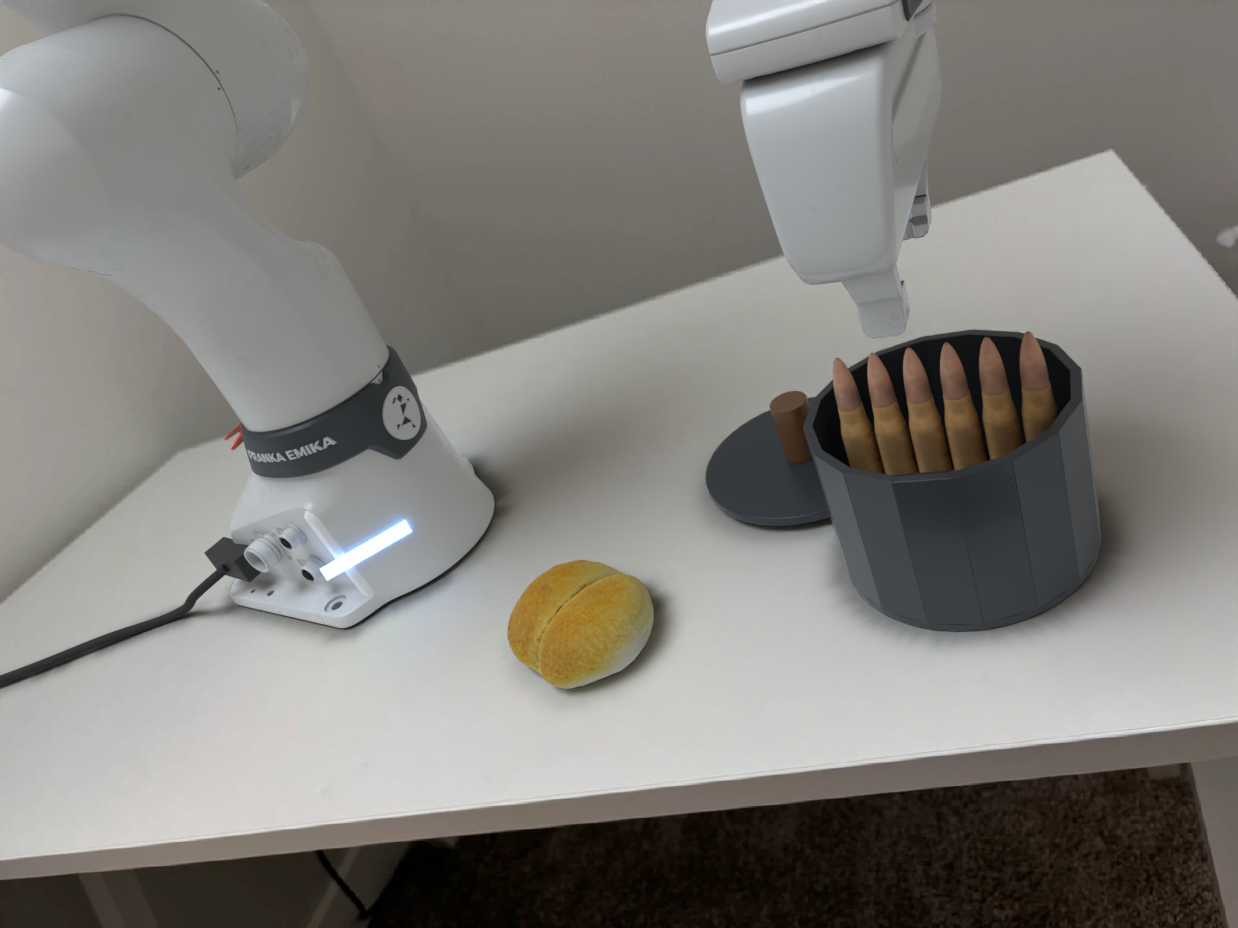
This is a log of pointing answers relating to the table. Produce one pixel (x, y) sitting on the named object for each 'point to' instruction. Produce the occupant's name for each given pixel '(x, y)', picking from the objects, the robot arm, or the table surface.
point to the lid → (769, 468)
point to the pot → (966, 501)
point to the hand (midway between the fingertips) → (901, 277)
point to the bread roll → (580, 623)
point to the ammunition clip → (958, 412)
